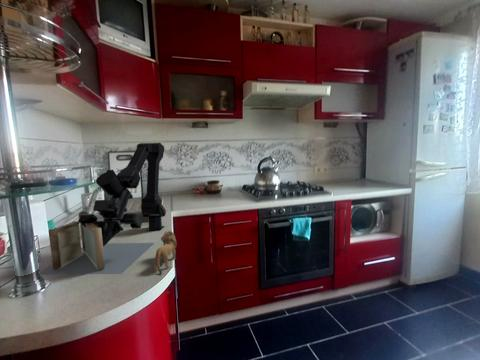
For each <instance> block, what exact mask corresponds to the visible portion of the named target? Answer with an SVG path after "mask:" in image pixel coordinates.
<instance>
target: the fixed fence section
mask: <svg viewBox="0 0 480 360" xmlns="http://www.w3.org/2000/svg"><path fill="white" fill-rule="evenodd" d="M83 214H89V213H88V212H87V211H84V210H82V211H81V212H79V213H78V219H79V218H80V216H81V215H83ZM48 237H49V245H50V254H51V264H53V270H57V269H59V268H61V267H62V266H63V265H65V264H67V263H68V262H70V261H72V260H73V259H75V258H77V257H78V256H80V255H82V251H81V248H82V247H83V252H86V249H85V239H84V229H83V225H82V224H81V223H80V222H78V220H77V221H75V220H74V221H71V222H69V223H67V224H64V225H61V226H58V227H56V228H52V229H48ZM81 243H82V244H81Z"/></svg>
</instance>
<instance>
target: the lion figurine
mask: <svg viewBox="0 0 480 360" xmlns="http://www.w3.org/2000/svg"><path fill="white" fill-rule="evenodd" d="M160 240H161V242H162V243H163V245H162V246H161V247H158V248H157V249H156V251H155V262H154V265H153V268H154V270H153V272H154V273H158V272H159V273H158V274H159V275H160V276H161V275H162V269H161V265H160V260H161V259H162V260H163V262H164V267H165V268H166V269H170V268H171V267H172V266H171V265H169V264H168V263H169V256H170V255H171V256H172V257H171V259H172V260H173V261H174V260H176V259H177V258H176V248H177V245H178V244H177V239H176V236H175V233H174V232H173V231H171V230H167V231H165V232H164V233H163V235H162V236H161V237H160Z"/></svg>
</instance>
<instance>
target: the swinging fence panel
mask: <svg viewBox="0 0 480 360" xmlns="http://www.w3.org/2000/svg"><path fill="white" fill-rule="evenodd" d="M85 226H86V227H84V226H83V229H84V239H85V249H86V252H87V253H88V255H89V256H90V257H91V259H92V260H93V262H94V263H95V264H96V266H97V269H98V270H101V269H104V268H105V262H104V252H103V241H102V230H101V228H99V227H97V226H96V225H94V224H93V223H85Z"/></svg>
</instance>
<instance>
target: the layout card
mask: <svg viewBox="0 0 480 360" xmlns="http://www.w3.org/2000/svg"><path fill="white" fill-rule="evenodd" d="M154 244H155V242H117V243H116V242H113V243H111V242H108V243H107V244H106V245H105V246H103V252H104V262H105V268H104V269H101V270H98V269H97V266H96V264H95V263H94V262H93V260H92V259H91V257H90V256H89V255H88V253H87V252H83V246H81V251H82V255H80V256H78V257H77V258H75V259H73V260H72V261H70V262H68V263H67V264H65V265H63V266H62V267H61V268H59V269H57V270H53V264H52V263H51V264H49V265H48V266H45V268H42V269H41V270H39V271H40V274H39V275H88V274H89V275H95V274H96V275H116V274H117V275H118V274H119V275H122V274H123V273H124V272H125V271H127V270H128V269H129V268H130V267H131V266H132V265H133V264H134V263H135V262H137V260H138V259H140V258H141V256H143V254H145V253H146V252H147V251H148V250H149V249H150V248H151V247H152V246H154Z"/></svg>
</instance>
